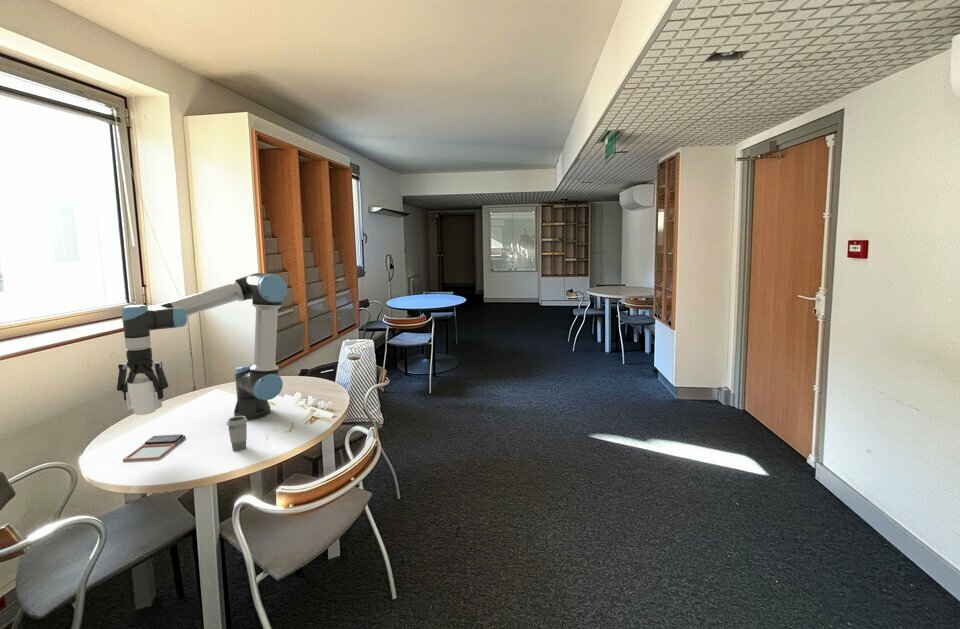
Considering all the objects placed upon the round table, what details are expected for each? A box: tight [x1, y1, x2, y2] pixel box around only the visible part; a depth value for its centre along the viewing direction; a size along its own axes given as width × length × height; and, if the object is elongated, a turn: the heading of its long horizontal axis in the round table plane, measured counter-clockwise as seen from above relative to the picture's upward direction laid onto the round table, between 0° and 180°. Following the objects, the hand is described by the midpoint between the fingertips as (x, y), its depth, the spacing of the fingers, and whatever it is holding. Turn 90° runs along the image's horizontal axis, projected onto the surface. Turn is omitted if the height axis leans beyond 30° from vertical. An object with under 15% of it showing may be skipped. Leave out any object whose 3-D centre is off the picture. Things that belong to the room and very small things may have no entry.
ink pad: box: [141, 433, 186, 446], centre depth 188 cm, size 12×8×2 cm, turn 97°
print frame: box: [122, 444, 177, 463], centre depth 178 cm, size 12×12×1 cm
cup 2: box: [226, 416, 248, 452], centre depth 181 cm, size 7×7×12 cm
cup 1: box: [127, 376, 157, 416], centre depth 175 cm, size 9×9×12 cm
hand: (145, 408), depth 176 cm, fingers closed on cup 1, 9 cm apart
